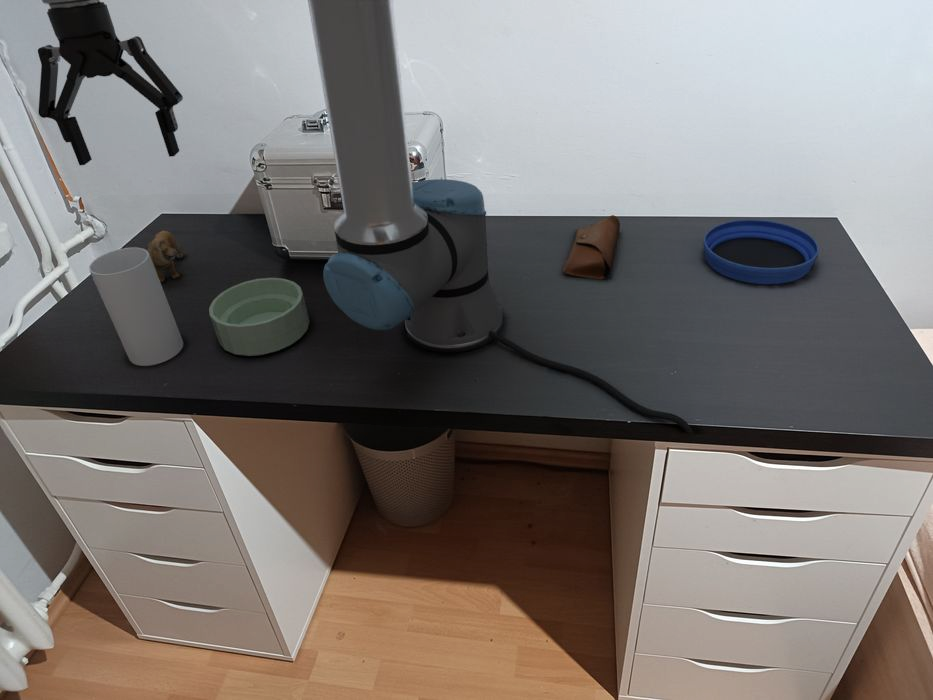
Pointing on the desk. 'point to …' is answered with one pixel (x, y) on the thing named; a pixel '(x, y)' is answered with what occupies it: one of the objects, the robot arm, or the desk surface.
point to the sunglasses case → (593, 250)
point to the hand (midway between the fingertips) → (130, 158)
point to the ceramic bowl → (259, 316)
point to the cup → (137, 305)
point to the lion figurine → (164, 253)
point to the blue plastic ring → (760, 251)
